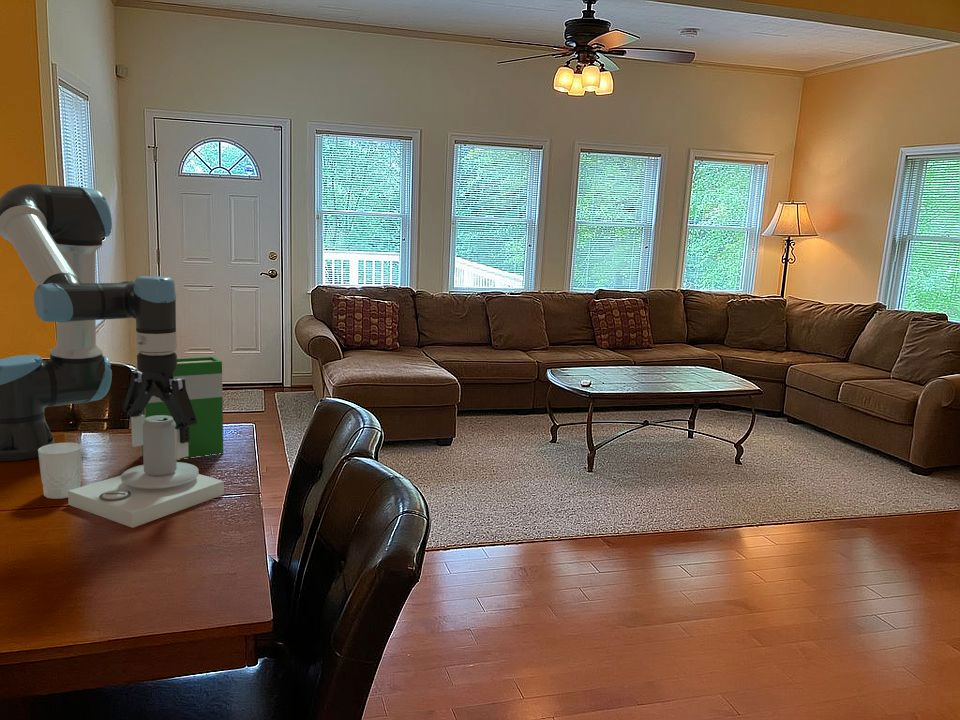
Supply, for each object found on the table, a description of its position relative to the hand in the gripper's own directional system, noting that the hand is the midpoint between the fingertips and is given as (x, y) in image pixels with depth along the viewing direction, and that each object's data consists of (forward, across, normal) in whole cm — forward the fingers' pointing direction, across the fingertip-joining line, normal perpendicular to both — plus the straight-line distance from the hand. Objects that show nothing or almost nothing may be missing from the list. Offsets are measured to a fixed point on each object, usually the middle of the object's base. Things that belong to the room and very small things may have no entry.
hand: (159, 451), depth 153 cm
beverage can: (+5, 0, 0) cm, 5 cm away
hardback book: (+10, -19, +21) cm, 30 cm away
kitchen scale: (+10, 0, -3) cm, 10 cm away
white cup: (+10, -17, -11) cm, 23 cm away
